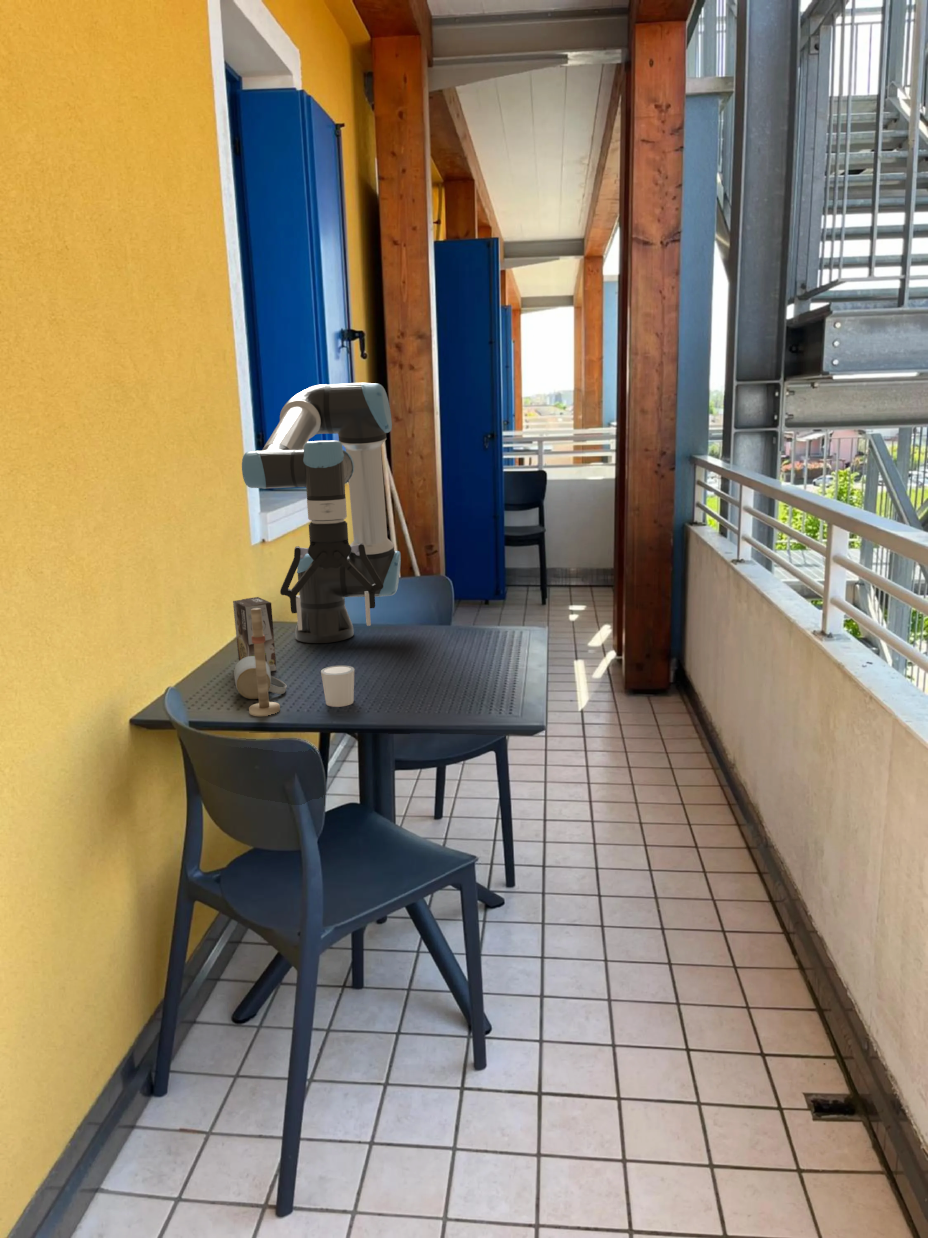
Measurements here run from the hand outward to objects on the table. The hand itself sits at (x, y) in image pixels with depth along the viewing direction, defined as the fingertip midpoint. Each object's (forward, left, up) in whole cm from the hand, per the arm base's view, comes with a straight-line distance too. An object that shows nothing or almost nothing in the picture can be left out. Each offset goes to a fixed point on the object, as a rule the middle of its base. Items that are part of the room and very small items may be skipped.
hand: (334, 626), depth 183 cm
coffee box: (-30, -18, -16) cm, 39 cm away
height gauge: (+2, -15, -16) cm, 22 cm away
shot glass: (0, 0, -16) cm, 16 cm away
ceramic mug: (-10, -16, -16) cm, 25 cm away
